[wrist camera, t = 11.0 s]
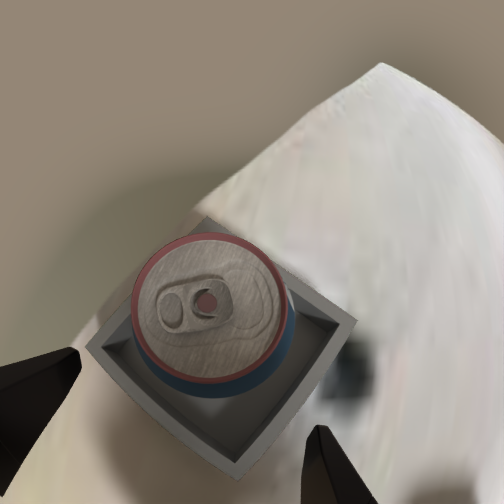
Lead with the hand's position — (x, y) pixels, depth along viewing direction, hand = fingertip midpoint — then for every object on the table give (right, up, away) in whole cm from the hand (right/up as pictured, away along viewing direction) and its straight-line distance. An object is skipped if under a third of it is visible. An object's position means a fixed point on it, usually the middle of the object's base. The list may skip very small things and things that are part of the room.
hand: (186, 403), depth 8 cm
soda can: (0, -2, +12) cm, 12 cm away
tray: (0, -3, +13) cm, 13 cm away
